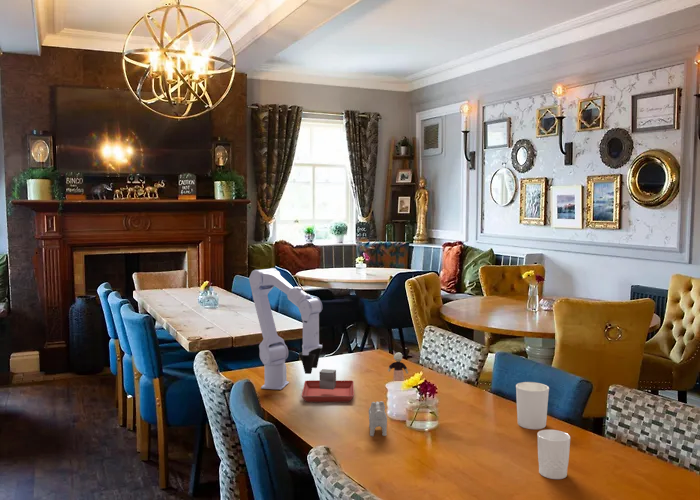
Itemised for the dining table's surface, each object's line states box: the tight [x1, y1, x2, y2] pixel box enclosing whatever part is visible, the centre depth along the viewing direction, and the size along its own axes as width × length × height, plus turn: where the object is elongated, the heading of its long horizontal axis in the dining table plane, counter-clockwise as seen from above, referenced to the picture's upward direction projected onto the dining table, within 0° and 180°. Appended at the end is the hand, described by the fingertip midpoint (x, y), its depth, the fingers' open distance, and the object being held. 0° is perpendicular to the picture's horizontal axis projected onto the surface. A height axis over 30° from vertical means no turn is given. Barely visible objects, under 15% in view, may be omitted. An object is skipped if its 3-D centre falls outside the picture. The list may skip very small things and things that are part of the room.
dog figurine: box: [368, 400, 388, 437], centre depth 187 cm, size 5×13×11 cm, turn 2°
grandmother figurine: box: [387, 352, 409, 382], centre depth 234 cm, size 8×4×13 cm, turn 84°
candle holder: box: [515, 381, 550, 430], centre depth 193 cm, size 10×10×12 cm
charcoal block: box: [319, 368, 337, 390], centre depth 223 cm, size 4×5×6 cm
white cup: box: [536, 429, 571, 480], centre depth 158 cm, size 8×8×10 cm
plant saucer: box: [301, 379, 355, 403], centre depth 223 cm, size 18×18×3 cm
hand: (311, 370), depth 221 cm, fingers open, 7 cm apart
